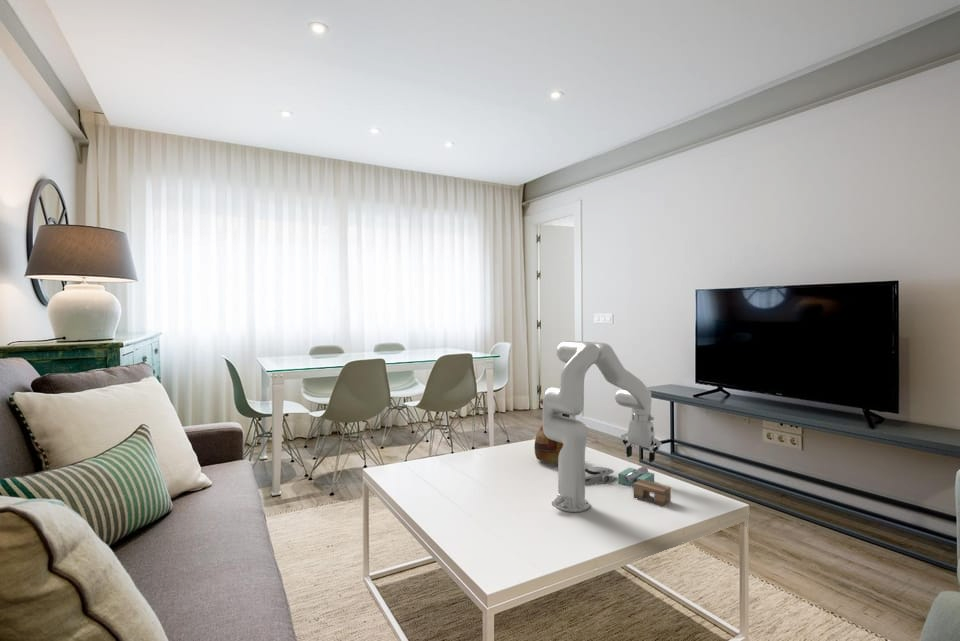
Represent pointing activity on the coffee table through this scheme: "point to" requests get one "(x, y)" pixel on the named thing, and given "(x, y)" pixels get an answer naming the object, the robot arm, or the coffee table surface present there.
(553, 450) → the ceramic pitcher
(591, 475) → the car model
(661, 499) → the wooden bridge block
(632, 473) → the axle
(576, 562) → the coffee table surface
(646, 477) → the v block
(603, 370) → the robot arm
